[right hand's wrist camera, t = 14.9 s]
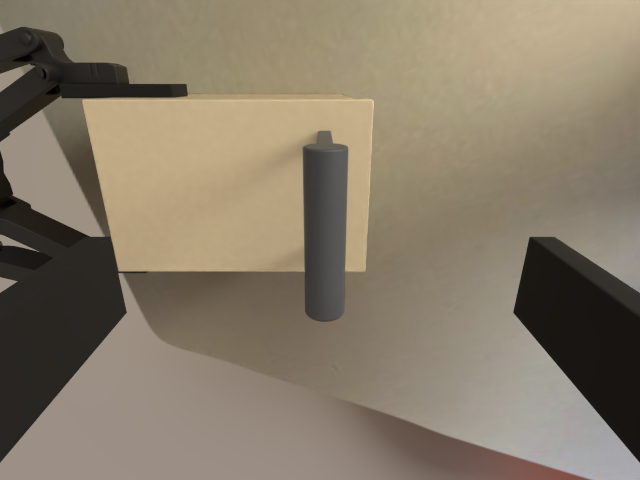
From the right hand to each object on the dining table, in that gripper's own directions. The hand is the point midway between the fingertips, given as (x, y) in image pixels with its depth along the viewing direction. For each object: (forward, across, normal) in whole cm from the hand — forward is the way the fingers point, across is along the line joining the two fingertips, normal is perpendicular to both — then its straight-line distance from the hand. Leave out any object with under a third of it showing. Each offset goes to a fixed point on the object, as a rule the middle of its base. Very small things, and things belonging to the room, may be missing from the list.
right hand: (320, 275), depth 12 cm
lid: (+11, -5, 0) cm, 12 cm away
